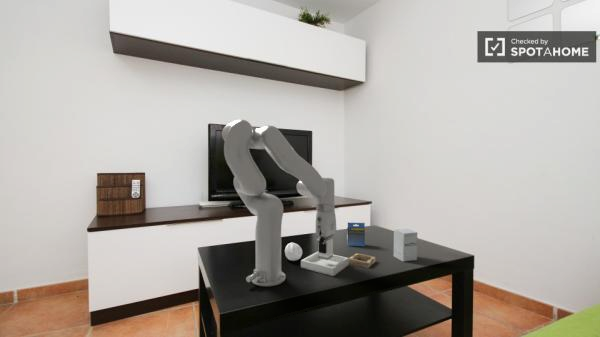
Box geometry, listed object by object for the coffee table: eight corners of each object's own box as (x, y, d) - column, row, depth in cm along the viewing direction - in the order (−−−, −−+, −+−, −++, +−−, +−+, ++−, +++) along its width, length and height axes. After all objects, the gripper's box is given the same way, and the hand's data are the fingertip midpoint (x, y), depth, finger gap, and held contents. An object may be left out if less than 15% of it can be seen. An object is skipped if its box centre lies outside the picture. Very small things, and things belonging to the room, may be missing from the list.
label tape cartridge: (363, 244, 144) (364, 221, 143) (364, 246, 140) (365, 222, 139) (346, 243, 145) (347, 220, 144) (347, 246, 141) (347, 222, 140)
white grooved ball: (295, 264, 115) (295, 246, 115) (281, 261, 119) (281, 243, 119) (305, 259, 122) (305, 241, 122) (291, 255, 126) (291, 239, 126)
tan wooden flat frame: (368, 268, 112) (368, 263, 112) (348, 263, 117) (348, 258, 117) (375, 261, 119) (375, 256, 119) (356, 257, 124) (356, 252, 124)
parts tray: (333, 276, 104) (333, 268, 104) (300, 267, 112) (300, 260, 112) (348, 264, 115) (348, 257, 115) (318, 257, 124) (318, 251, 124)
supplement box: (403, 262, 119) (403, 233, 118) (393, 256, 126) (393, 229, 125) (417, 260, 121) (417, 232, 120) (406, 254, 128) (407, 228, 127)
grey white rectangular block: (327, 260, 111) (327, 238, 110) (318, 257, 113) (318, 236, 113) (333, 256, 114) (332, 235, 114) (323, 254, 117) (323, 234, 117)
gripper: (323, 211, 104) (323, 259, 105) (342, 205, 118) (342, 247, 118) (306, 209, 108) (307, 255, 109) (327, 204, 122) (327, 244, 123)
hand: (325, 250), depth 114 cm, fingers closed on grey white rectangular block, 4 cm apart
